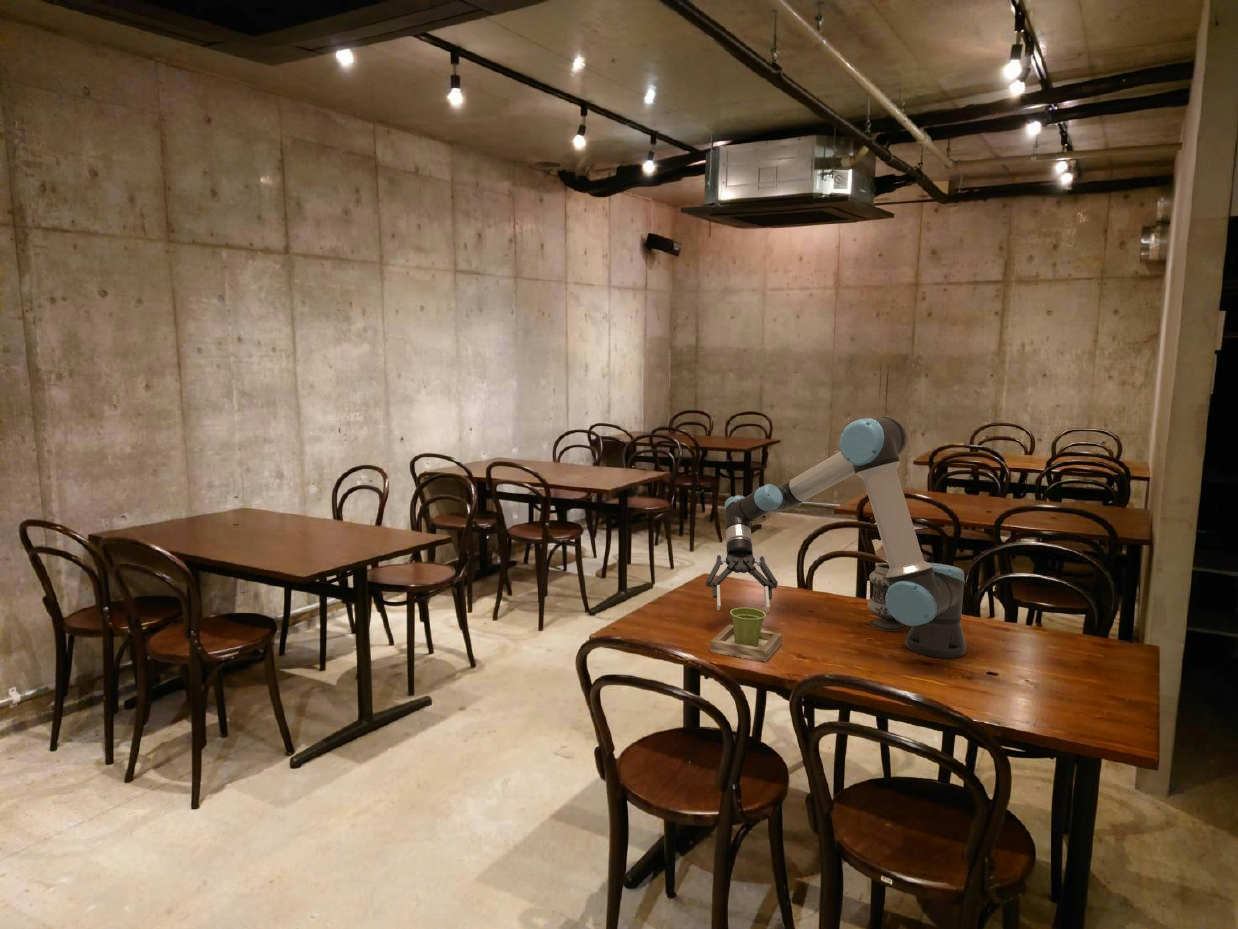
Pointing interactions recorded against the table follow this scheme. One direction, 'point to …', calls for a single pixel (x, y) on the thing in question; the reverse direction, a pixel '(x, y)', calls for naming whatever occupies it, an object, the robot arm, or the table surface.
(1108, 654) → the table surface
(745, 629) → the plant pot
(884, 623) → the apothecary jar
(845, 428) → the robot arm
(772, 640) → the wooden tray
